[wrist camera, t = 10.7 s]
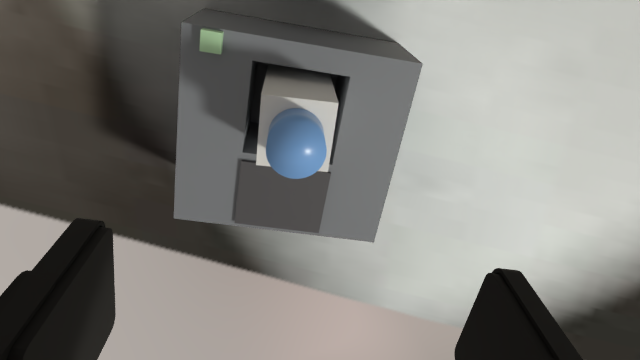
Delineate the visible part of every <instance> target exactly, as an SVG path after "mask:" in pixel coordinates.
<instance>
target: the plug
mask: <svg viewBox="0 0 640 360" xmlns="http://www.w3.org/2000/svg"><path fill="white" fill-rule="evenodd" d="M338 104H339V103H338V99H337V96H336V93H335V89H334V86H333V83H332V79H331V76H330V73H324V72H318V71H312V70H306V69H300V68H294V67H288V66H282V65H276V64H270V63H268V68H267V72H266V76H265V80H264V85H263V89H262V93H261V105H260V118H259V131H258V145H257V158H256V165H260V166H270V167H272V168H273V169H274V170H275V171H276V172H277V173H278V174H280V175H282V176H284V177H287V178H292V179H301V178H306V177H308V176H311V175H313V174H314V173H316V172H317V171H322V172H328V169H329V162H330V156H331V149H332V143H333V136H334V130H335V123H336V117H337V110H338Z"/></svg>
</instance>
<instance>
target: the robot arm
mask: <svg viewBox="0 0 640 360" xmlns="http://www.w3.org/2000/svg"><path fill="white" fill-rule="evenodd" d="M113 260H114V259H113V233H112V229H111V228H105V224H104V222H103V221H98V220H90V219H81V218H77V219H75V220H74V221H73V222H72V223H71V224H70V225H69V227H68V228H67V229H66V230H65V231H64V233H63V234H62V235H61V236H60V238H59V239H58V240H57V241H56V242H55V243H54V245H53V246H52V247H51V248H50V250H49V251H48V252H47V253H46V254H45V255H44V257H43V258H42V259H41V260H40V261H39V263H38V264H37V265H36V266H35V267H34V269H33V270H32V271H24V272H22V273H21V274H20V275H19V276H17V277H16V279H15V280H14V281H13V282H12V283H11V284H10V286H9V287H8V288H7V289H6V290H5V291H4V293H3V294H2V295H1V296H0V360H97V359H98V357H99V355H100V353H101V351H102V349H103V347H104V345H105V343H106V341H107V338H108V337H109V335H110V332H111V330H112V328H113V325H114V320H115V289H114V261H113ZM455 360H583V359H582V358H581V356H580V355H579V354H578V352H577V351H576V349H575V348H574V346H573V345H572V344H571V342H570V341H569V339H568V338H567V337H566V335H565V334H564V332H563V331H562V329H561V328H560V327H559V325H558V324H557V322H556V321H555V319H554V318H553V317H552V315H551V314H550V312H549V311H548V310H547V308H546V307H545V305H544V304H543V302H542V301H541V300H540V298H539V297H538V295H537V294H536V292H535V291H534V290H533V288H532V287H531V285H530V284H529V283H528V281H527V280H526V278H525V277H524V275H523V274H522V273H521V272H520V271H517V270H509V269H500V268H497V269H495V270H494V271H493V272H492V273H488V274H487V275H486V277H485V279H484V281H483V283H482V286H481V288H480V291H479V293H478V295H477V298H476V300H475V302H474V305H473V307H472V309H471V312H470V314H469V316H468V319H467V321H466V323H465V326H464V328H463V331H462V333H461V335H460V338H459V340H458V342H457V345H456V348H455Z"/></svg>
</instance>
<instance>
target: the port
mask: <svg viewBox="0 0 640 360" xmlns="http://www.w3.org/2000/svg"><path fill="white" fill-rule="evenodd" d="M268 63H270V64H276V65H282V66H288V67H294V68H300V69H306V70H312V71H318V72H324V73H330V76H331V79H332V83H333V86H334V89H335V93H336V96H337V99H338V103H339V104H338V110H337V117H336V123H335V130H334V136H333V143H332V149H331V156H330V162H329V169H328V172H322V171H317V172H316V173H314V174H313V175H311V176H308V177H306V178H301V179H292V178H287V177H284V176H282V175H280V174H278V173H277V172H276V171H275V170H274V169H273V168H272V167H270V166H260V165H256V158H257V145H258V131H259V118H260V105H261V93H262V89H263V85H264V80H265V76H266V72H267V68H268ZM421 68H422V63H421V62H420V61H419V60H418V59H416V58H415V57H414V56H413V55H412V54H411V53H409V52H408V51H407V50H406V49H405V48H403V47H402V46H401V45H400V44H399V43H395V42H390V41H384V40H378V39H373V38H367V37H361V36H356V35H350V34H344V33H339V32H333V31H327V30H322V29H316V28H310V27H305V26H299V25H293V24H288V23H282V22H276V21H271V20H265V19H260V18H254V17H248V16H243V15H237V14H231V13H226V12H220V11H214V10H209V9H202V10H201V11H199V12H197V13H196V14H194V15H192V16H191V17H189V18H187V19H186V20H184V21H182V22H181V42H180V69H179V95H178V121H177V147H176V173H175V199H174V218H175V219H183V220H192V221H200V222H208V223H217V224H225V225H234V226H242V227H250V228H259V229H267V230H276V231H284V232H292V233H301V234H309V235H318V236H326V237H334V238H343V239H351V240H360V241H368V242H374V239H375V236H376V232H377V229H378V225H379V221H380V218H381V214H382V210H383V207H384V203H385V199H386V196H387V192H388V188H389V185H390V181H391V177H392V174H393V170H394V166H395V163H396V159H397V155H398V152H399V148H400V144H401V141H402V137H403V134H404V130H405V126H406V123H407V119H408V115H409V112H410V108H411V104H412V101H413V97H414V93H415V90H416V86H417V82H418V79H419V75H420V71H421Z"/></svg>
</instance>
